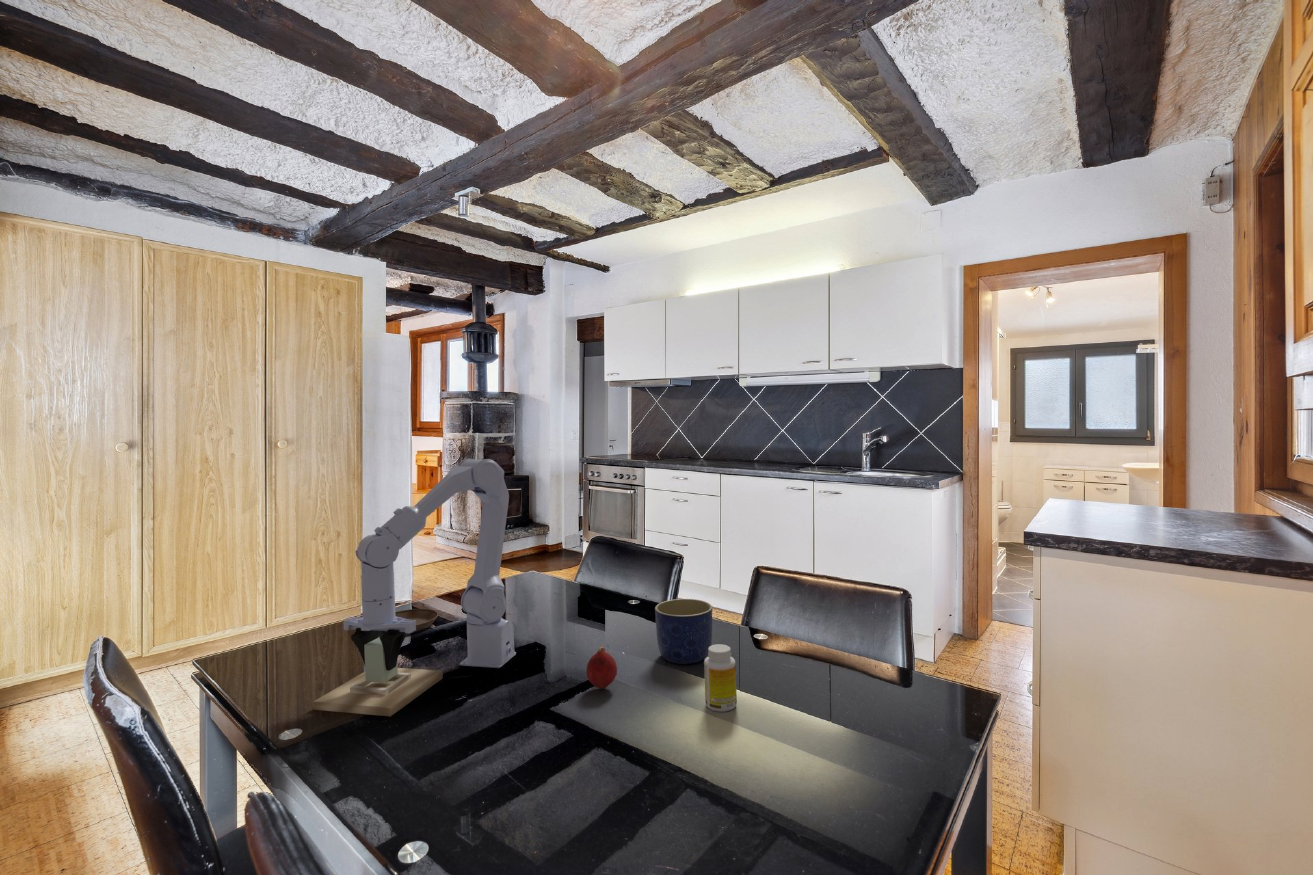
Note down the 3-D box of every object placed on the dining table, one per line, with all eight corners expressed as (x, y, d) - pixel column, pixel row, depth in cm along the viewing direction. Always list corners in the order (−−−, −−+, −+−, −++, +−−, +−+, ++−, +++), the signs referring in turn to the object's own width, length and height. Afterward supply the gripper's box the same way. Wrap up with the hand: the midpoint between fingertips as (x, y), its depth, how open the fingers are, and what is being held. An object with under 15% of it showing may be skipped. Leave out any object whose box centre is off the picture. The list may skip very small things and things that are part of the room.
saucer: (444, 628, 149) (444, 618, 149) (382, 641, 141) (381, 630, 141) (431, 614, 161) (430, 605, 161) (372, 626, 153) (372, 615, 153)
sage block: (397, 673, 113) (396, 638, 113) (383, 682, 109) (382, 645, 109) (379, 672, 114) (378, 637, 114) (365, 681, 110) (364, 644, 110)
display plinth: (442, 678, 117) (442, 665, 117) (390, 716, 102) (390, 702, 102) (374, 673, 121) (373, 661, 121) (313, 709, 105) (313, 695, 105)
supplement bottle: (743, 708, 101) (741, 650, 101) (716, 715, 99) (714, 656, 99) (725, 695, 106) (724, 640, 106) (699, 702, 104) (697, 645, 104)
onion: (612, 697, 107) (611, 654, 107) (582, 695, 108) (581, 652, 108) (620, 683, 112) (619, 642, 112) (592, 681, 114) (591, 641, 114)
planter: (647, 664, 122) (646, 612, 122) (668, 643, 133) (667, 596, 133) (703, 671, 117) (702, 618, 117) (720, 649, 128) (719, 601, 128)
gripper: (330, 602, 109) (332, 673, 109) (398, 604, 106) (400, 678, 106) (357, 591, 116) (359, 659, 116) (421, 594, 113) (423, 663, 113)
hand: (380, 667), depth 111 cm, fingers closed on sage block, 4 cm apart
